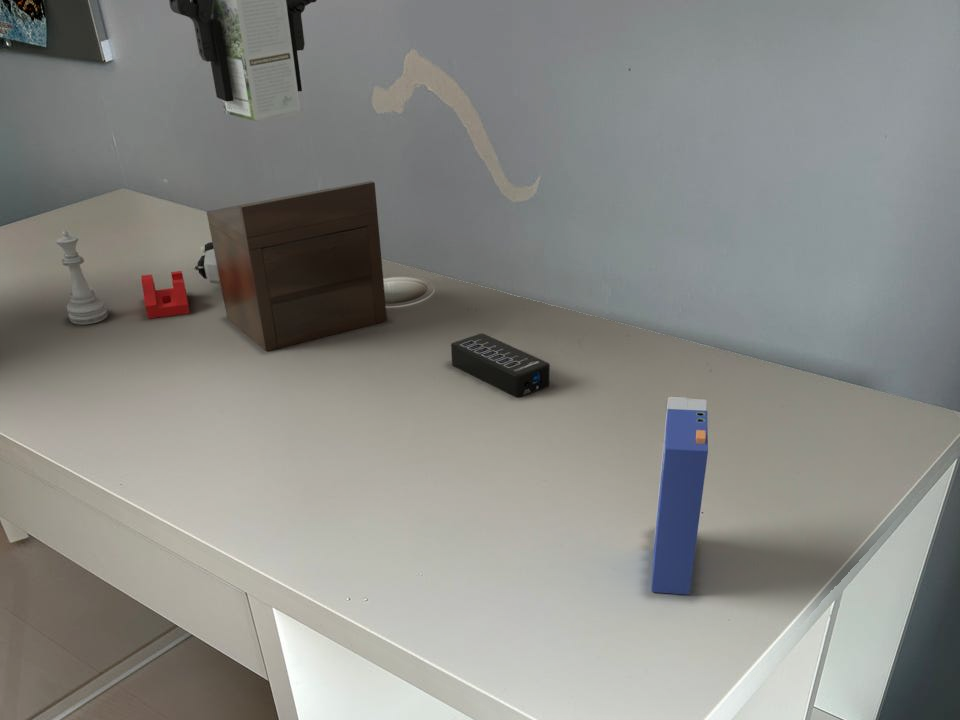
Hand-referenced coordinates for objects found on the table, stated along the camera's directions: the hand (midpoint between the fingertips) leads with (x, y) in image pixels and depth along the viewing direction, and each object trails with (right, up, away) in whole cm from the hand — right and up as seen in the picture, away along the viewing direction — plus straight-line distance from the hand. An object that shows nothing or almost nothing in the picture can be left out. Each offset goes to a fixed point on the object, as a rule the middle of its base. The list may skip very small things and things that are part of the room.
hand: (259, 93), depth 97 cm
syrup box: (0, -2, +1) cm, 2 cm away
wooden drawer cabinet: (+2, -17, +18) cm, 24 cm away
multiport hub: (+24, -27, +4) cm, 36 cm away
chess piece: (-25, -16, +20) cm, 35 cm away
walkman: (+36, -48, -23) cm, 65 cm away
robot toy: (-8, -7, +30) cm, 32 cm away
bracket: (-16, -14, +22) cm, 31 cm away
